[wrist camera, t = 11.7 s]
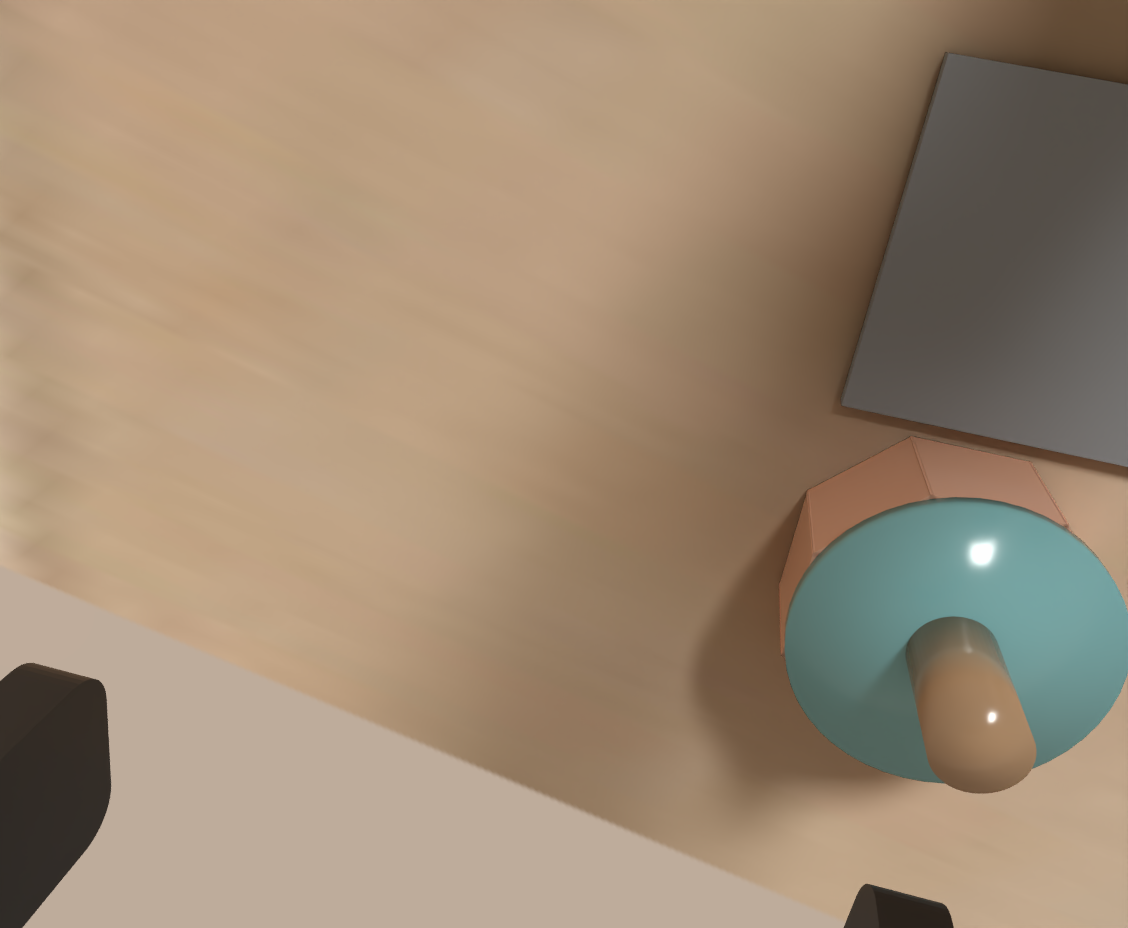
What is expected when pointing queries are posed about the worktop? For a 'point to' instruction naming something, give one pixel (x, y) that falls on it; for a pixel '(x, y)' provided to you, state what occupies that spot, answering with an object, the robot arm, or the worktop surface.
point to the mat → (1008, 266)
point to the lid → (957, 642)
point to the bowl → (905, 496)
